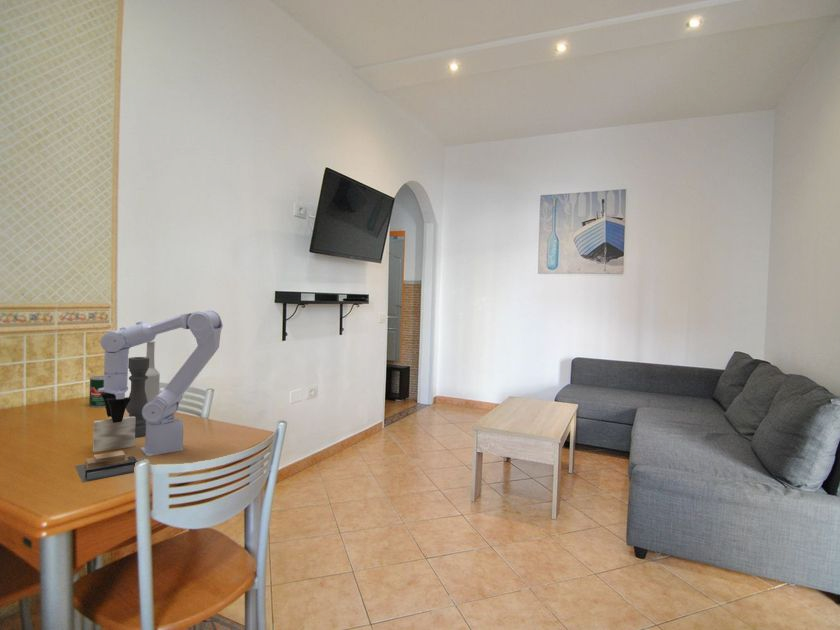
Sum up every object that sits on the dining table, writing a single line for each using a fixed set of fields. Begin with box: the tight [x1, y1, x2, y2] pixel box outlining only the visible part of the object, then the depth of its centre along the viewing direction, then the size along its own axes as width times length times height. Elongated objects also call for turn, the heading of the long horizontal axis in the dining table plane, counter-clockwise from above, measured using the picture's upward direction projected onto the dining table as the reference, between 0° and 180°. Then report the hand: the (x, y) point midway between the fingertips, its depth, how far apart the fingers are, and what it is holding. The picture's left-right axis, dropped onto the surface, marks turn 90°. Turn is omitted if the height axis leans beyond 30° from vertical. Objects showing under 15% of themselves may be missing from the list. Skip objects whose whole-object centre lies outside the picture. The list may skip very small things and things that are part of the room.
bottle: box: [145, 340, 161, 402], centre depth 165 cm, size 7×7×28 cm
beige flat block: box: [92, 416, 136, 453], centre depth 131 cm, size 10×2×9 cm, turn 134°
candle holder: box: [125, 356, 149, 439], centre depth 144 cm, size 6×6×25 cm
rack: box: [74, 455, 138, 484], centre depth 117 cm, size 13×13×2 cm
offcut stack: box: [84, 450, 129, 469], centre depth 120 cm, size 9×5×2 cm, turn 134°
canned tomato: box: [88, 375, 106, 408], centre depth 178 cm, size 8×8×11 cm
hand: (114, 419), depth 131 cm, fingers open, 7 cm apart
